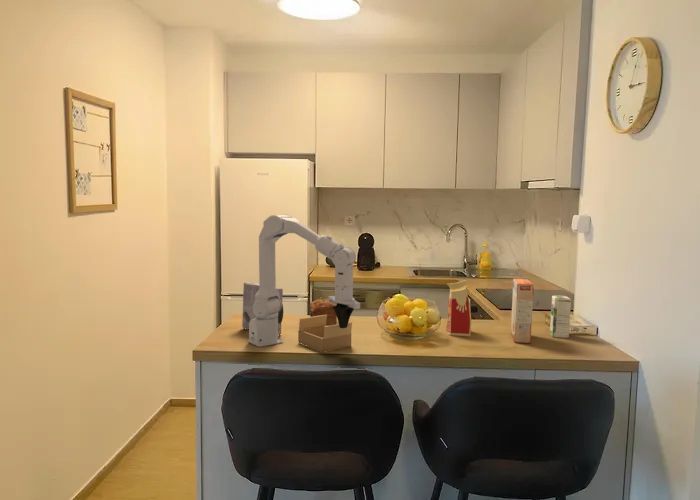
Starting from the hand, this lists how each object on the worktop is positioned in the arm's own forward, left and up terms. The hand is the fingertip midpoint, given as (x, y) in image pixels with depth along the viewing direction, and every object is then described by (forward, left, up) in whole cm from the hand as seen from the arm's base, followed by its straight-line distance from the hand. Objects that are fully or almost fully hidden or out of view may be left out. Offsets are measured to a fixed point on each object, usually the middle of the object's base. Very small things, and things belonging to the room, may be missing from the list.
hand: (343, 327), depth 177 cm
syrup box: (+77, -30, -8) cm, 83 cm away
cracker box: (+62, -24, -8) cm, 67 cm away
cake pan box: (-8, +38, -8) cm, 40 cm away
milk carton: (+50, -5, -8) cm, 51 cm away
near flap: (0, +3, -1) cm, 3 cm away
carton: (0, +10, -8) cm, 13 cm away
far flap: (0, +17, -1) cm, 17 cm away
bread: (+17, +36, -8) cm, 41 cm away
